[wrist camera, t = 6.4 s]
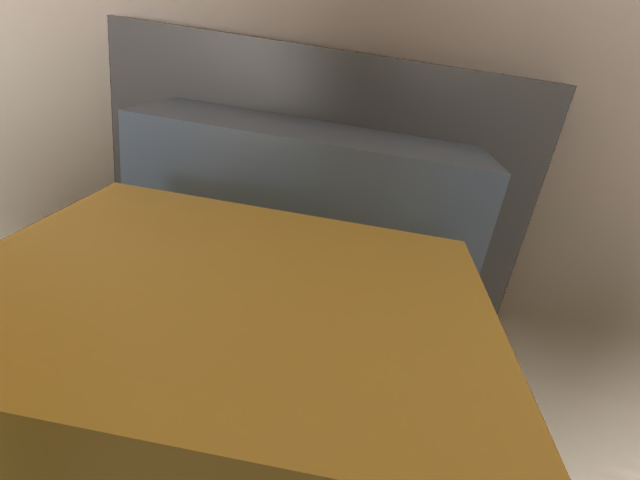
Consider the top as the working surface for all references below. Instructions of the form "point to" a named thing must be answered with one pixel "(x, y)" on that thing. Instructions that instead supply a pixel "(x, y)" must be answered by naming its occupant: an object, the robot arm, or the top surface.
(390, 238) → the mustard brick
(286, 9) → the top surface
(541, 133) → the baseplate
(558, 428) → the top surface
